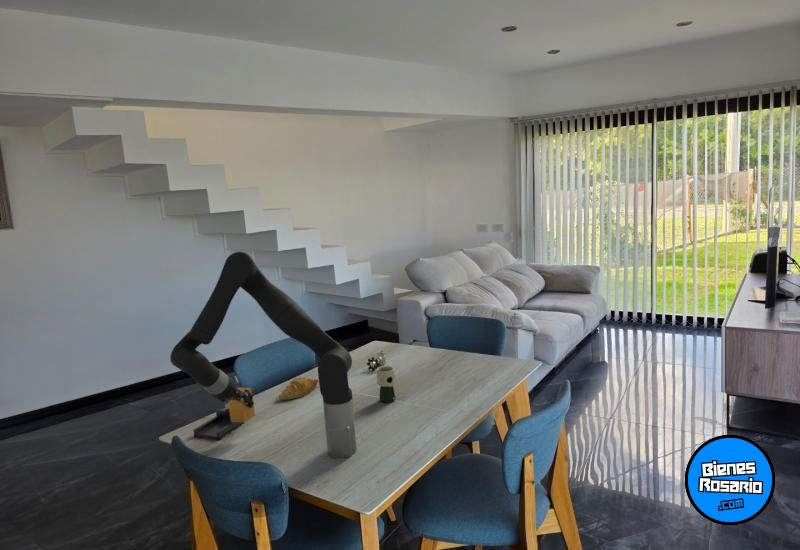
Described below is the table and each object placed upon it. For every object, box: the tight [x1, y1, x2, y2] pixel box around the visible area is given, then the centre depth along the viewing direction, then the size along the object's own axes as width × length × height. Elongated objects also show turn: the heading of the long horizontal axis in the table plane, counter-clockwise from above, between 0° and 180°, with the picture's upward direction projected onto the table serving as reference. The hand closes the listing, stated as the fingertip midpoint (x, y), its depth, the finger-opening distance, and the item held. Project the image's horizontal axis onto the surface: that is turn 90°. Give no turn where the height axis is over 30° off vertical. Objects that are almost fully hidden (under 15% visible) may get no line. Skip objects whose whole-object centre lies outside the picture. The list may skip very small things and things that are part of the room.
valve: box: [366, 349, 387, 372], centre depth 257 cm, size 7×7×12 cm
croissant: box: [277, 377, 319, 401], centre depth 229 cm, size 21×10×8 cm, turn 143°
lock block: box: [228, 386, 256, 424], centre depth 187 cm, size 6×6×10 cm
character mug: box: [376, 365, 396, 403], centre depth 214 cm, size 11×7×13 cm, turn 147°
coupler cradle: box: [193, 402, 245, 441], centre depth 197 cm, size 15×11×7 cm
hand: (244, 404), depth 189 cm, fingers closed on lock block, 5 cm apart
